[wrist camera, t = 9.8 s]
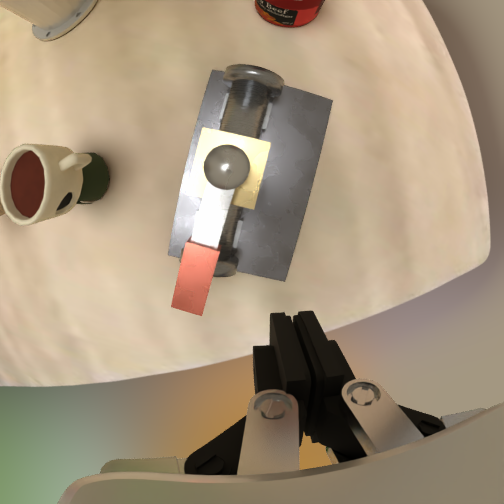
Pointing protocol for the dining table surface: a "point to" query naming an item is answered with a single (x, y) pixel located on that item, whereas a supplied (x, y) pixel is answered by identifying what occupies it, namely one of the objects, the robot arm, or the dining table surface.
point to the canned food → (288, 11)
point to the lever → (209, 226)
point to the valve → (255, 168)
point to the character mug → (49, 182)
